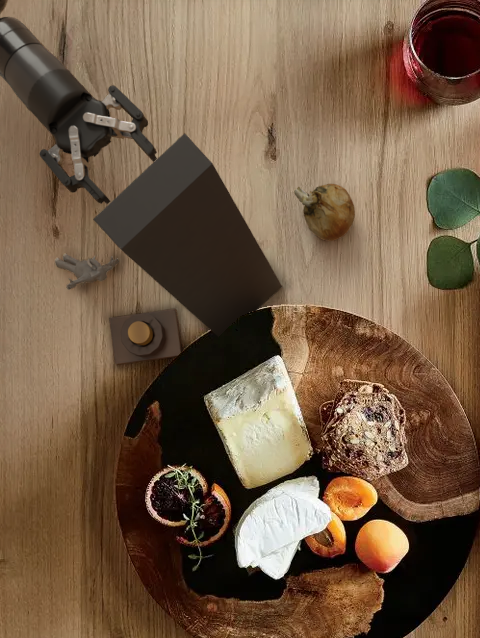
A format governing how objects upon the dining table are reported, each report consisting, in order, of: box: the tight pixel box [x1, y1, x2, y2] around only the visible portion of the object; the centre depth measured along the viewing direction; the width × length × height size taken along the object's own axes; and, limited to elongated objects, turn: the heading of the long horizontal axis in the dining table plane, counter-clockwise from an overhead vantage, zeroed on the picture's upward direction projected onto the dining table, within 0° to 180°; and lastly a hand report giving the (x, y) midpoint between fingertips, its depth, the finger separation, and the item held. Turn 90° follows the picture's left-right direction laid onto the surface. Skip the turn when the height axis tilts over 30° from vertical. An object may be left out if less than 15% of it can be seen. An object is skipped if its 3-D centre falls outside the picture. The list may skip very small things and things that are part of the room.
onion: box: [293, 183, 356, 242], centre depth 118 cm, size 8×8×8 cm
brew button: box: [128, 321, 153, 345], centre depth 120 cm, size 3×3×2 cm
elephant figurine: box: [54, 253, 120, 291], centre depth 120 cm, size 10×6×9 cm
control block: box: [108, 308, 183, 366], centre depth 121 cm, size 10×7×2 cm
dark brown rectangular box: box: [92, 133, 283, 338], centre depth 100 cm, size 16×12×44 cm
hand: (130, 179), depth 110 cm, fingers open, 8 cm apart
